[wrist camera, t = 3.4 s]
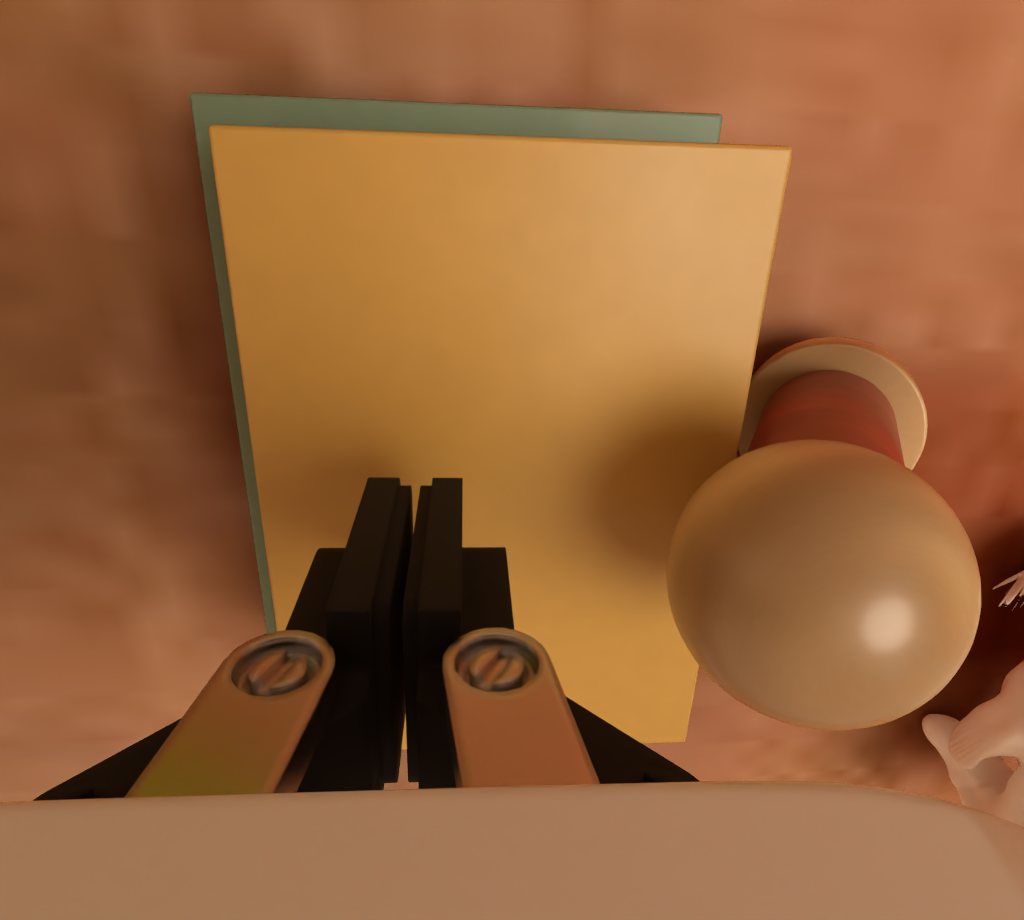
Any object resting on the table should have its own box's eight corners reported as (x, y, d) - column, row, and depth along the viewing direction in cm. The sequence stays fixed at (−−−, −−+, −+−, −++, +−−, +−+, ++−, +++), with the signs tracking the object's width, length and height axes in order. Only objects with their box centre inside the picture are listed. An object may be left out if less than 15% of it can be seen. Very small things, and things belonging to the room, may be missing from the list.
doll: (896, 329, 19) (1417, 526, 9) (856, 479, 21) (1242, 792, 10) (595, 323, 19) (750, 524, 8) (582, 477, 21) (693, 803, 10)
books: (693, 123, 17) (803, 100, 11) (632, 611, 23) (684, 752, 17) (235, 105, 16) (114, 71, 10) (297, 615, 22) (240, 764, 16)
